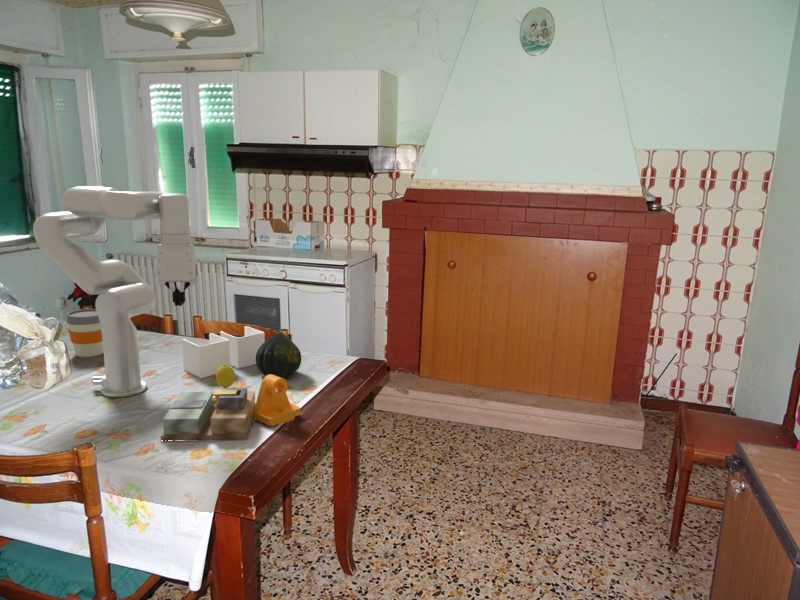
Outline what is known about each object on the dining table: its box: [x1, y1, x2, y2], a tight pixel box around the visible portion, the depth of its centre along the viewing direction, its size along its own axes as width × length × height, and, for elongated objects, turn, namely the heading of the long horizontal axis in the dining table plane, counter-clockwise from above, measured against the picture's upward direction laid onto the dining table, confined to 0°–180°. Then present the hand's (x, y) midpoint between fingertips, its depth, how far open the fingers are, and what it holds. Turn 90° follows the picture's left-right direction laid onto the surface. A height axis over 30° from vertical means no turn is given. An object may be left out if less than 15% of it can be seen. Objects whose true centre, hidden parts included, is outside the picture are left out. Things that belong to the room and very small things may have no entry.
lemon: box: [215, 364, 236, 389], centre depth 174 cm, size 6×6×8 cm
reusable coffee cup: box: [66, 308, 104, 358], centre depth 201 cm, size 13×12×15 cm
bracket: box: [254, 374, 301, 427], centre depth 154 cm, size 11×7×12 cm, turn 141°
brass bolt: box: [211, 389, 238, 405], centre depth 149 cm, size 6×5×3 cm
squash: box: [255, 331, 302, 379], centre depth 187 cm, size 14×15×15 cm
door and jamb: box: [159, 387, 256, 442], centre depth 150 cm, size 21×20×9 cm
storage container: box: [181, 325, 266, 379], centre depth 194 cm, size 25×11×11 cm, turn 138°
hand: (179, 304), depth 158 cm, fingers closed
